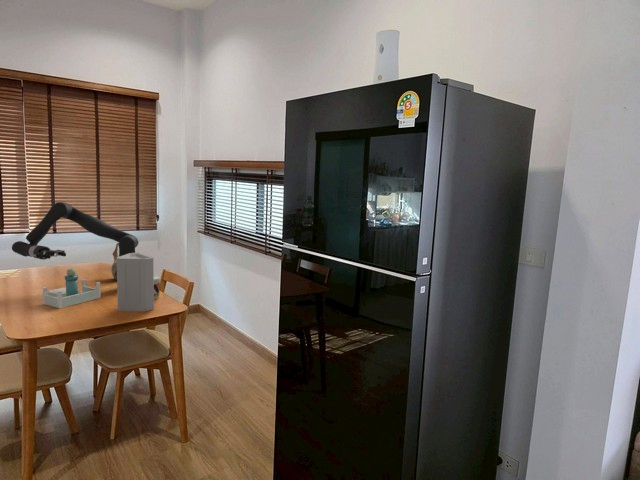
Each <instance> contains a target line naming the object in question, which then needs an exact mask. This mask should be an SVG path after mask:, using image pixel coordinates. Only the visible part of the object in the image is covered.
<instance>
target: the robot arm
mask: <svg viewBox="0 0 640 480" xmlns="http://www.w3.org/2000/svg"><path fill="white" fill-rule="evenodd" d="M61 218H63V219H66V220H69V221H72V222H74V223H75V224H78V226H80V227H82V228H83V229H84V230H86V231H87V232H89V233H91V234H93V235H95V236H98V237H101V238H104V239H109V240H112V241H115V242H117V243H119V246H118V256H119V255H120V256H123V255H126V254H129V253H136V248H137V246H138V245H139V239H138V237H136V236H135V235H133V234H131V233H128V232H126V231H123V230H121V229H118V228H116V227H114V226H113V225H111V224H109V223H108V222H106V221H104V220H101V219H100V218H98V217H95V216H93V215H90V214H88V213H85V212H82V211H81V210H80V209H77V208H76V207H74V206H72V205H71V204H70V203H68V202H63V201H62V202H61V201H59V202H55V203H54V204H53V205H52V206H51V207H50V209H49V210H48V212H47V213H46V214H45V216H43V218H42V219H41V221H40V222H38V224H36V226H35V227H34V228H33V229H32V230H31V231H30V232H29V233H28V234H27V235H26V236H25V240H26V241H27V242H24V241H21V240H18V241H15V242H14V243H13V244H12V245H11V250H12V251H13V252H14V253H15V254H17V255H21V256H23V257H26V258H27V257H31V258H34V259H37V260H47V259H49V260H50V259H51V258H52V257H56V258H57V257H66V256H67V252H65V250H64V249H63V250H61V249H55V250H54V249H51V248H50V247H48V246H44V245H38V244H39V243H40V241H42V240H43V239H44V237H46V235H48V233H49V232H50V229H51V228H52V226H53V225H54V224H55V223H57V221H58V220H60V219H61ZM28 242H29V243H28Z"/></svg>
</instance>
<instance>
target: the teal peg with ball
mask: <svg viewBox="0 0 640 480" xmlns="http://www.w3.org/2000/svg"><path fill="white" fill-rule="evenodd" d="M64 280H65V287H66V297H67V296H71V295H76V294H78V290H79V287H78V280H79V275H78V274H77V272H76V269H74V268H68V269H67V270H66V275H65V276H64Z"/></svg>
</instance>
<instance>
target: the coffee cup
mask: <svg viewBox="0 0 640 480" xmlns="http://www.w3.org/2000/svg"><path fill="white" fill-rule="evenodd" d="M160 288H161V277H160V276H157V275H154V300H157V299H160Z"/></svg>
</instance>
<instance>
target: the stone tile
mask: <svg viewBox="0 0 640 480" xmlns="http://www.w3.org/2000/svg"><path fill="white" fill-rule="evenodd" d="M57 291H62V298H63V297H66V286H65V287H60V288H55V289H50V290H47V294H48V295H50V296H54V297H57ZM80 293H81V289H78V294H80Z"/></svg>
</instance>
